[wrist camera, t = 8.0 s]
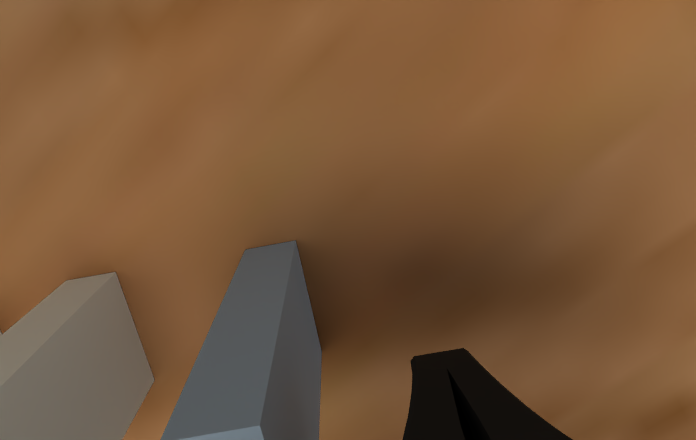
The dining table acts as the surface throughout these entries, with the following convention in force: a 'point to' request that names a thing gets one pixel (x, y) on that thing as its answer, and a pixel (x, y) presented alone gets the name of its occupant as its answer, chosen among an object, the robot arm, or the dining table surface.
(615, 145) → the dining table surface
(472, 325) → the dining table surface
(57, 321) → the ivory tile
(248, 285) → the slate tile
